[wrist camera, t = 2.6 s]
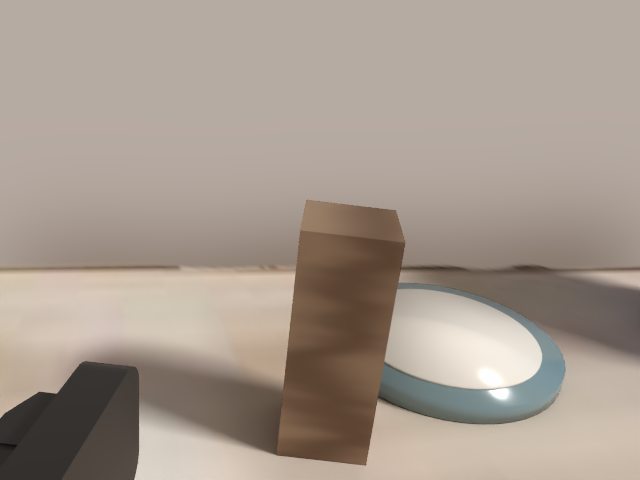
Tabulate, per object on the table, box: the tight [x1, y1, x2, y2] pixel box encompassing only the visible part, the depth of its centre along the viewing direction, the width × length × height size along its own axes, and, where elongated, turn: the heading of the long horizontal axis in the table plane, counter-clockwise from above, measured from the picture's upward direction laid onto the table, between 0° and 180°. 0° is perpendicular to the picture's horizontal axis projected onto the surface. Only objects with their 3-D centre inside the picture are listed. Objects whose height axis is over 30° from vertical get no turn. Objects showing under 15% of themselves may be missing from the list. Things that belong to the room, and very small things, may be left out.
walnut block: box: [276, 200, 405, 465], centre depth 29 cm, size 4×4×12 cm
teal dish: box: [378, 283, 565, 424], centre depth 40 cm, size 16×16×1 cm
